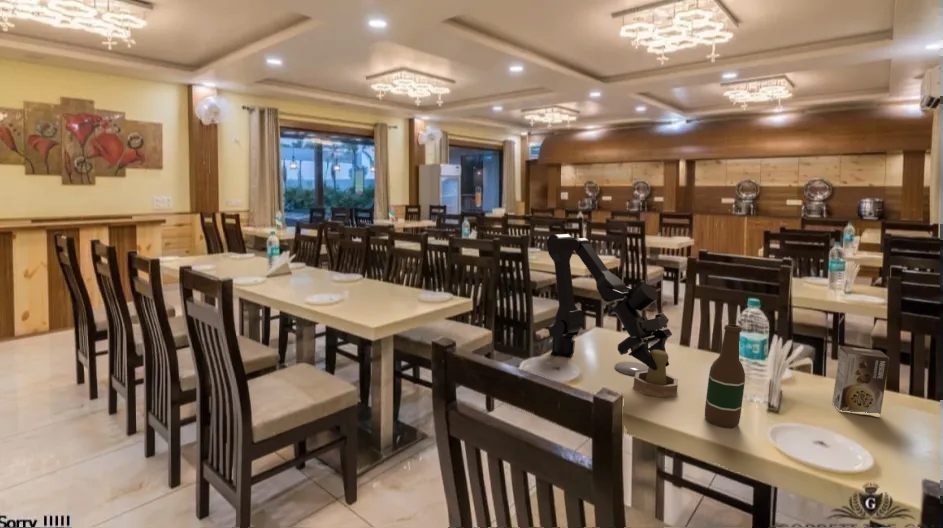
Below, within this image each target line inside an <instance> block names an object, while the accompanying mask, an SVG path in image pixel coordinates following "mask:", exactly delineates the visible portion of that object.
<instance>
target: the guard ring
mask: <svg viewBox="0 0 943 528" xmlns="http://www.w3.org/2000/svg"><path fill="white" fill-rule="evenodd" d="M647 372H648V371H643V372H636V374H635V376H634V378H633V387H632V388H633V389H635V390H637V391H638V392H640V393H641V394H643V395H647V396H650V397H651V396H652V397H658V398H671V397H675V396H676V397H677V395H678V385H679V379H678V378H676V377H674V376H672V375H670V374H667V373H666V385H657V384H651V383H647V382H645V380H646V376H647Z"/></svg>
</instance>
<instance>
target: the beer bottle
mask: <svg viewBox="0 0 943 528" xmlns="http://www.w3.org/2000/svg"><path fill="white" fill-rule="evenodd" d="M723 330H724V334H723V339H722V345H721V350H720V353H719V356H718V357H717V358H716V359H715V360H714V361H713V362H712V364H711V365H710V368H709V372H708V373H709V374H708V380H707V387H706V397H705V404H704V406H705V407H704V418H705V419H706V420H707V422H708V423H709V424H711V423H712V425H714V426H716V427H718V426H719V428H727V429H734V428H735V427H737V426H739V424H740V420H741V413H742V407H743V406H742V405H743V400H744V399H743V398H744V391H745V390H744V389H745V386H746V385H745V382H746V373H745V369H744V366H742V364H741V360H740V361H739V341H740V340H741V339H740V338H741V337H740V336H741V333H742V327H741V326H739V325H738V324H731V323H730V324H729V323H728V324H725V325H724V327H723Z"/></svg>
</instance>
